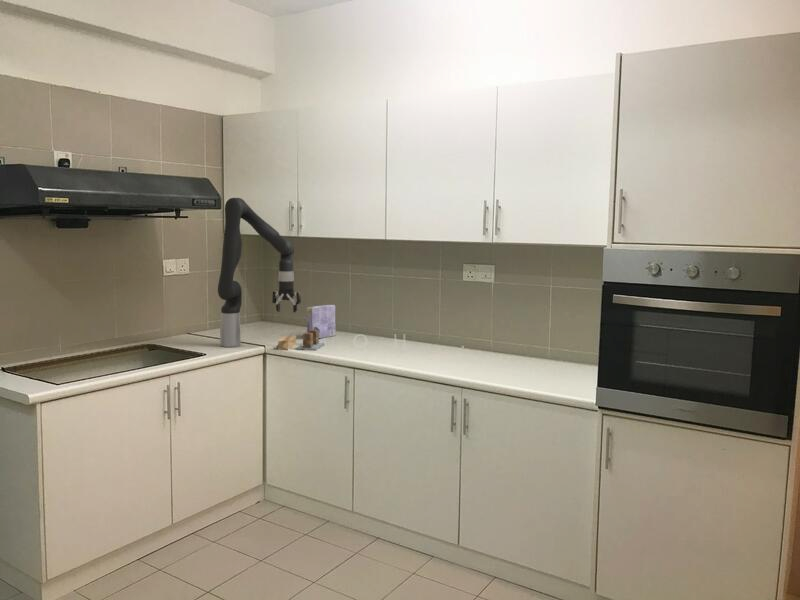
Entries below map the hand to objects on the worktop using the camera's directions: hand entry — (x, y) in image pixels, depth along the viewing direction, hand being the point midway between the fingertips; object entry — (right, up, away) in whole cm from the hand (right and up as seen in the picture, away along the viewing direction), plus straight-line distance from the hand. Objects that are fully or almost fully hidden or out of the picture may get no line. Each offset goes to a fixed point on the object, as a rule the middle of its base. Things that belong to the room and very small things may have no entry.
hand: (286, 311), depth 327 cm
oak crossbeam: (0, -18, +2) cm, 18 cm away
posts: (+12, -18, +2) cm, 22 cm away
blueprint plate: (+12, -18, +2) cm, 22 cm away
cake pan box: (+14, -15, +30) cm, 36 cm away
